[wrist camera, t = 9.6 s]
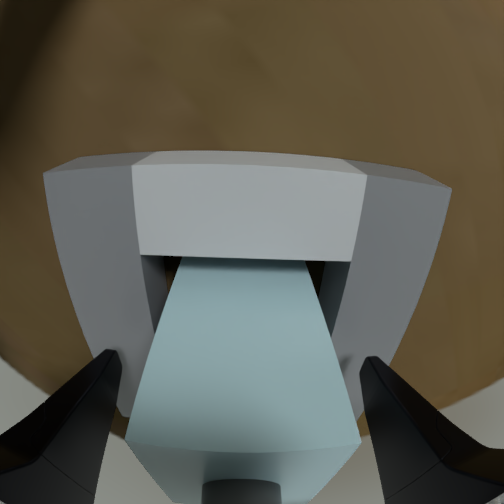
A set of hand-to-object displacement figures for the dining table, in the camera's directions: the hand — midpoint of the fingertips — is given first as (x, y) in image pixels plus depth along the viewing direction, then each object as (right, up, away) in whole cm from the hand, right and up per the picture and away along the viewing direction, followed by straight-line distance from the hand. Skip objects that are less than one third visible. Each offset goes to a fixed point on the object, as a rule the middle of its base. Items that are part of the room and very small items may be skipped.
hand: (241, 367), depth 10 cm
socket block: (0, +2, +3) cm, 4 cm away
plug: (0, +2, +3) cm, 4 cm away
